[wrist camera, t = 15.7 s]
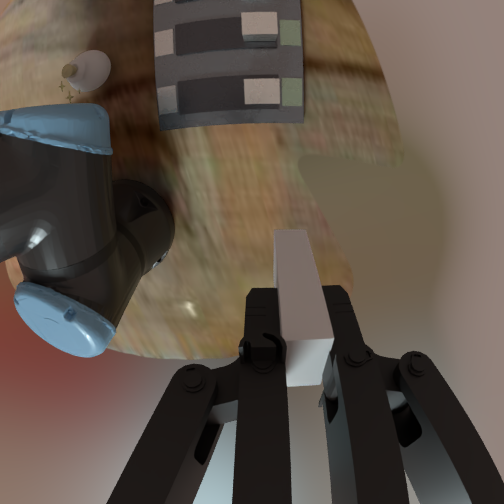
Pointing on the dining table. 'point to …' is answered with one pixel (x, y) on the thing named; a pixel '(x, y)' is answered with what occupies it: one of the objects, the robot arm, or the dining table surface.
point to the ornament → (87, 71)
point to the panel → (228, 62)
